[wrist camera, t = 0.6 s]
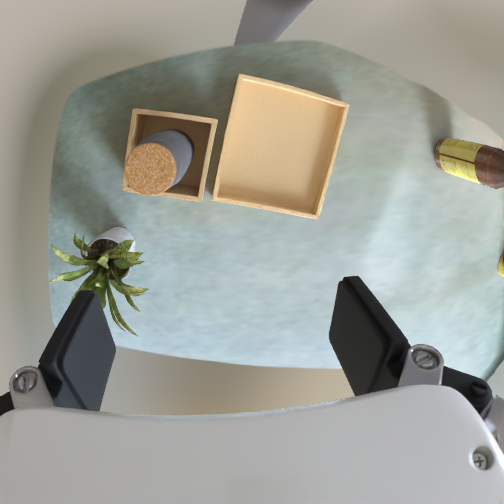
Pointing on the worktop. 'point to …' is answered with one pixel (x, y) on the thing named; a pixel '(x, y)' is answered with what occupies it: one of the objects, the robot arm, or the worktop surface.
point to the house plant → (105, 267)
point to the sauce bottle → (471, 161)
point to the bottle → (158, 162)
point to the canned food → (501, 266)
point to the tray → (278, 147)
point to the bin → (200, 135)
